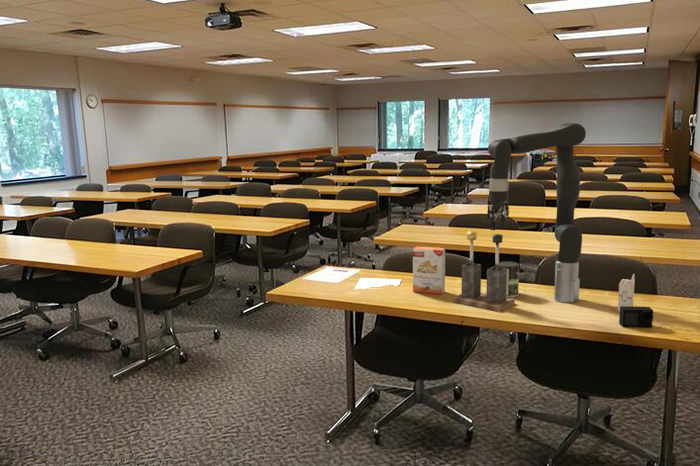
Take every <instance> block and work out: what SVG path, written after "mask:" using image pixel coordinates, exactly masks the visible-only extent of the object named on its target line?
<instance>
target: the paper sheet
mask: <svg viewBox="0 0 700 466" xmlns="http://www.w3.org/2000/svg"><path fill="white" fill-rule="evenodd" d="M401 282H402V279H401V278H399V279H398V278H397V279H395V278H373V277H372V278H371V277H360V278H359V280H358V282H356V283H357V284H356V285H355V287H354V290H360V289H361V290H362V289H367V288H368V289H371V288H370V287H381V286H385V285H390V284H391V285H394V286H398V285H399V286H400V284H401ZM368 289H367V290H368Z"/></svg>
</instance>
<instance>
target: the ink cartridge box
mask: <svg viewBox="0 0 700 466" xmlns="http://www.w3.org/2000/svg"><path fill="white" fill-rule="evenodd" d="M635 283H636V282H635V273H633V274H632V276H631V279H626V278H625V279H624V278H622V279H621V280H620V282H619V283H618V303H617V305H618V306H617V312H619V313H620V306H633V307H634V295H635Z"/></svg>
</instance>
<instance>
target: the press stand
mask: <svg viewBox="0 0 700 466" xmlns="http://www.w3.org/2000/svg"><path fill="white" fill-rule="evenodd" d="M506 280H507V268H500V267H499V271H497V270H495V266H492V267H489V268H487V269H486V293H483V292H481V291H482V290H481V289H482V285H481V284H482V265H481V264H480V263H479V264H478V263H474V262H473V267H471V266H470V262H467V263H465V264H464V263H463V264H461V293H460V294H458V295H456V296H454V297H452V303H455V304H459V305H464V306H470V307H474V308H478V309H484V310H489V311H494V312H497V313H500V312H501V311H503V310H505V309H508V308H509V307H511V306H513V305H515V298H513V297H506Z"/></svg>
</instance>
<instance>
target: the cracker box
mask: <svg viewBox="0 0 700 466" xmlns="http://www.w3.org/2000/svg"><path fill="white" fill-rule="evenodd" d="M445 290H446V247H432V246H431V247H429V246H418V245H417V246H415V247H414V248H412V292H414V293H424V294H431V295H432V294H433V295H443V294H444V292H445Z"/></svg>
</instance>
